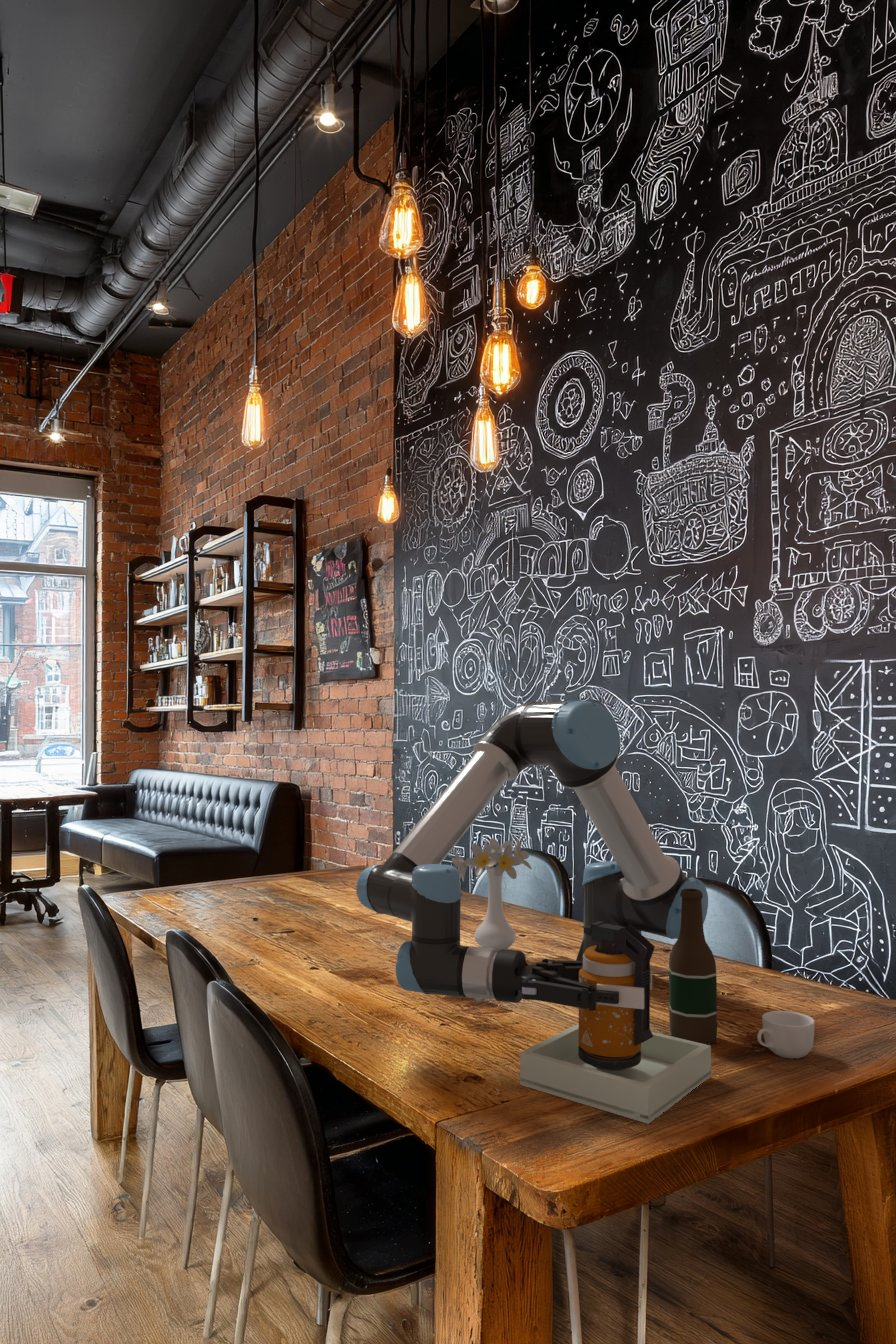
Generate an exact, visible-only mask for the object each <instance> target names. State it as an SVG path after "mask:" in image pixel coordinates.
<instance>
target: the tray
mask: <svg viewBox="0 0 896 1344" xmlns="http://www.w3.org/2000/svg"><path fill="white" fill-rule="evenodd" d="M578 1033H579V1023H577V1024H574V1025H573V1026H571V1027H569V1028H566V1029H565V1030H562V1031H560V1032H559V1033H557V1034H554V1035H552V1036H551V1037H549V1038H547V1039H544V1040H542V1041H540V1042H537V1043H536V1044H534V1045H532V1046H530V1047H528V1048H526V1049H524V1050H521V1051H520V1052H519V1085H520V1086H523V1087H526V1088H529V1089H533V1090H537V1091H539V1092H542V1093H545V1094H546V1093H547V1094H550V1095H553V1096H555V1097H559V1098H561V1099H566V1100H569V1101H572V1102H576V1103H579V1104H582V1105H585V1106H589V1107H592V1108H596V1109H598V1110H602V1111H605V1112H608V1113H610V1114H611V1113H612V1114H615V1115H618V1116H620V1117H625V1118H627V1119H631V1120H634V1121H637V1122H639V1123H640V1122H641V1123H644V1124H647V1125H648V1124H650V1123H651V1122H653V1121H654V1120H656V1119H657V1118H659V1117H660V1116H661V1115H663V1114H664V1113H665V1112H667V1111H668V1110H669V1109H671V1108H672V1107H673V1106H675V1105H676V1104H677V1103H678V1102H679V1101H681V1100H683V1099H684V1098H685V1097H687V1096H688V1095H689V1094H691V1093H692V1092H693V1091H694V1090H693V1089H695V1088H696V1087H697V1088H699V1087H700V1086H701V1085H702V1084H701V1083H703V1082H704V1081H705V1082H707V1081H708V1080H710V1079H711V1078H712V1046H711V1044H708V1045H706V1044H702V1043H698V1042H693V1041H689V1040H685V1039H681V1038H676V1037H672V1035H667V1034H663V1033H660V1032H659V1033H658V1032H654V1031H651V1033H652V1035H653V1037H652V1038H650V1039H648V1040H647V1041H645V1042H643V1043H641V1062H640V1063H639V1064H638V1065H636V1066H634V1067H631V1068H627V1069H624V1070H618V1071H610V1070H603V1069H598V1068H596V1067H593V1066H592V1065H589V1064H587V1063H585V1062H583V1061H582V1060H581V1059H580V1058H579V1056H578V1046H579V1044H578ZM710 1077H711V1078H710ZM707 1079H708V1080H707ZM706 1080H707V1081H706ZM705 1082H704V1083H705ZM704 1083H703V1084H704ZM700 1084H701V1085H700ZM699 1085H700V1086H699ZM698 1086H699V1087H698ZM697 1088H696V1089H697ZM696 1089H695V1090H696ZM692 1090H693V1091H692ZM691 1091H692V1092H691ZM690 1092H691V1093H690ZM688 1093H689V1094H688ZM687 1094H688V1095H687ZM686 1095H687V1096H686ZM684 1096H685V1097H684ZM683 1097H684V1098H683ZM682 1098H683V1099H682ZM675 1103H676V1104H675ZM663 1112H664V1113H663ZM655 1118H656V1119H655Z"/></svg>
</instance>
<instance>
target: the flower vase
mask: <svg viewBox="0 0 896 1344" xmlns="http://www.w3.org/2000/svg"><path fill="white" fill-rule="evenodd" d="M487 843H488V841H487V840H486V841H485V842H484V845H483V848H481V847H480V846H479V844H476V843H474V844H472V845H471V852H472V853H473V856H474V857H469V858H467V859H466V860H464V859H463V858H462V857H461V856H460V855H459V854H458V853H457V851H455V850H454V849H452V852H453V853H452V854H453V855H454V856H455V857H452V858H451V862H452V864H453V866H454V867H456V868H457V869H458V871H459V873H460V880H461V879H462V882H463V883H464V882H465V875H466V870H467V867H469V870H472V869H473V868H475V869H474V873H475V876H476V877H479V876H481V874H482V873H483V871H484V869H485V871H486V874H487V881H488V897H487V898H488V900H487V911H486V914H485V916H484V919H483V921H482V922H480V924H479V925H478V926H477V928H476V930H475V932H474V941H475V942H476V944H477V945H478V947H487V948H495V949H496V950H497V951H499V950H501V949H508V950H510V947H512V945H514V943H515V942H516V940H517V934H516V932H515V929H514V928H513V927H512V925H511V924H510V923H509V922H508V920H507V919H506V916H505V913H504V909H503V907H504V906H503V891H502V890H503V888H502V887H503V877H504V876H503V875H504V872H506V874H507V875H508V877H509V878H510V879H513V880H515V879H517V875H518V874H517V870H516V869H515V867H516V866H520V865H524V866H525V867H527V868H528V869H530V870H533V868H532V866H531V865H530V863H529V862H528V861H527V859H529V858H530V854H529V853H528V851H526V850H522V844H521V841H520V839H519V838H517V839H516V843H514V849H513V846H512V844H513V843H512V841H511V840H506V841H504V842H503V843H502V844H501V846H500V843H499V841H497V839H496V838H493V837H492V838H490V839H489V844H487Z"/></svg>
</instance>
